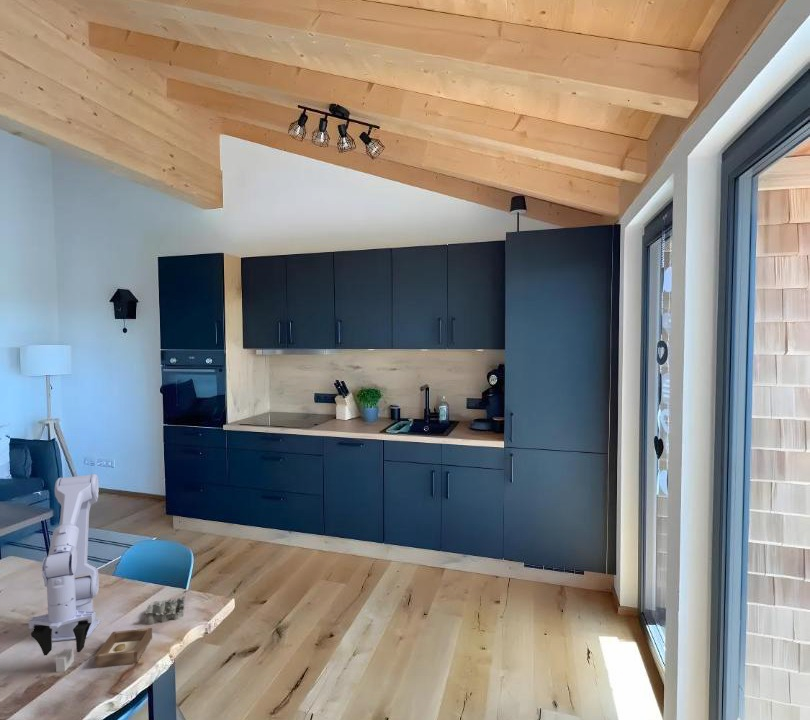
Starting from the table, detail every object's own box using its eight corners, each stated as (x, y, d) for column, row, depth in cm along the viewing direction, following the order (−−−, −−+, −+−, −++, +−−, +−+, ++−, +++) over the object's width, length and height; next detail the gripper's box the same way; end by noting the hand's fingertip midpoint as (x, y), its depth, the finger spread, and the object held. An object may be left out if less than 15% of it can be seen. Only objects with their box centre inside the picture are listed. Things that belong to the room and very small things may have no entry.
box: (95, 667, 118) (94, 656, 118) (113, 642, 128) (112, 631, 128) (137, 663, 120) (137, 652, 120) (152, 638, 130) (151, 628, 130)
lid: (27, 687, 113) (26, 671, 113) (54, 656, 124) (53, 641, 124) (76, 681, 115) (76, 666, 114) (99, 651, 125) (98, 637, 125)
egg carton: (142, 627, 135) (142, 614, 135) (148, 612, 142) (148, 599, 142) (182, 620, 138) (182, 607, 138) (186, 606, 146) (186, 593, 145)
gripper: (19, 611, 113) (22, 665, 114) (84, 605, 115) (87, 658, 116) (37, 595, 120) (40, 646, 121) (98, 590, 122) (101, 640, 123)
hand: (64, 651), depth 119 cm, fingers open, 7 cm apart
